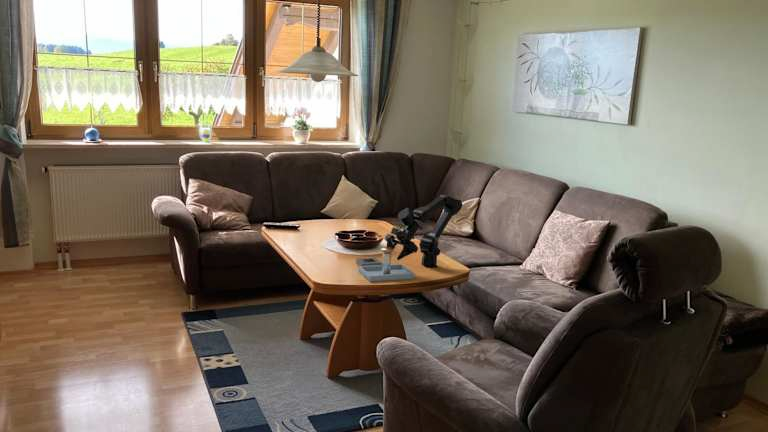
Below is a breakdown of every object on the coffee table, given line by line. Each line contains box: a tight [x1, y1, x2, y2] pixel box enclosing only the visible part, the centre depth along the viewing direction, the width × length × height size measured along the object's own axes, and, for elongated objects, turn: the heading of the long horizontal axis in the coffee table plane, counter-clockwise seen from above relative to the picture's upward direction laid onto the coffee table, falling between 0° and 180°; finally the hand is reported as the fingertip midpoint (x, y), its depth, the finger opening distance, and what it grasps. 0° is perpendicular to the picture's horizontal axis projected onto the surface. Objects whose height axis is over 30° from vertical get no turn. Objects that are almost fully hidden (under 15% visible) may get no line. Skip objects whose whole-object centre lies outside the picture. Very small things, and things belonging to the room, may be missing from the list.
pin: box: [380, 246, 394, 275], centre depth 289 cm, size 6×6×12 cm
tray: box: [358, 263, 416, 283], centre depth 291 cm, size 22×16×3 cm
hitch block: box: [355, 257, 383, 267], centre depth 305 cm, size 10×10×2 cm
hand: (391, 257), depth 291 cm, fingers open, 9 cm apart
